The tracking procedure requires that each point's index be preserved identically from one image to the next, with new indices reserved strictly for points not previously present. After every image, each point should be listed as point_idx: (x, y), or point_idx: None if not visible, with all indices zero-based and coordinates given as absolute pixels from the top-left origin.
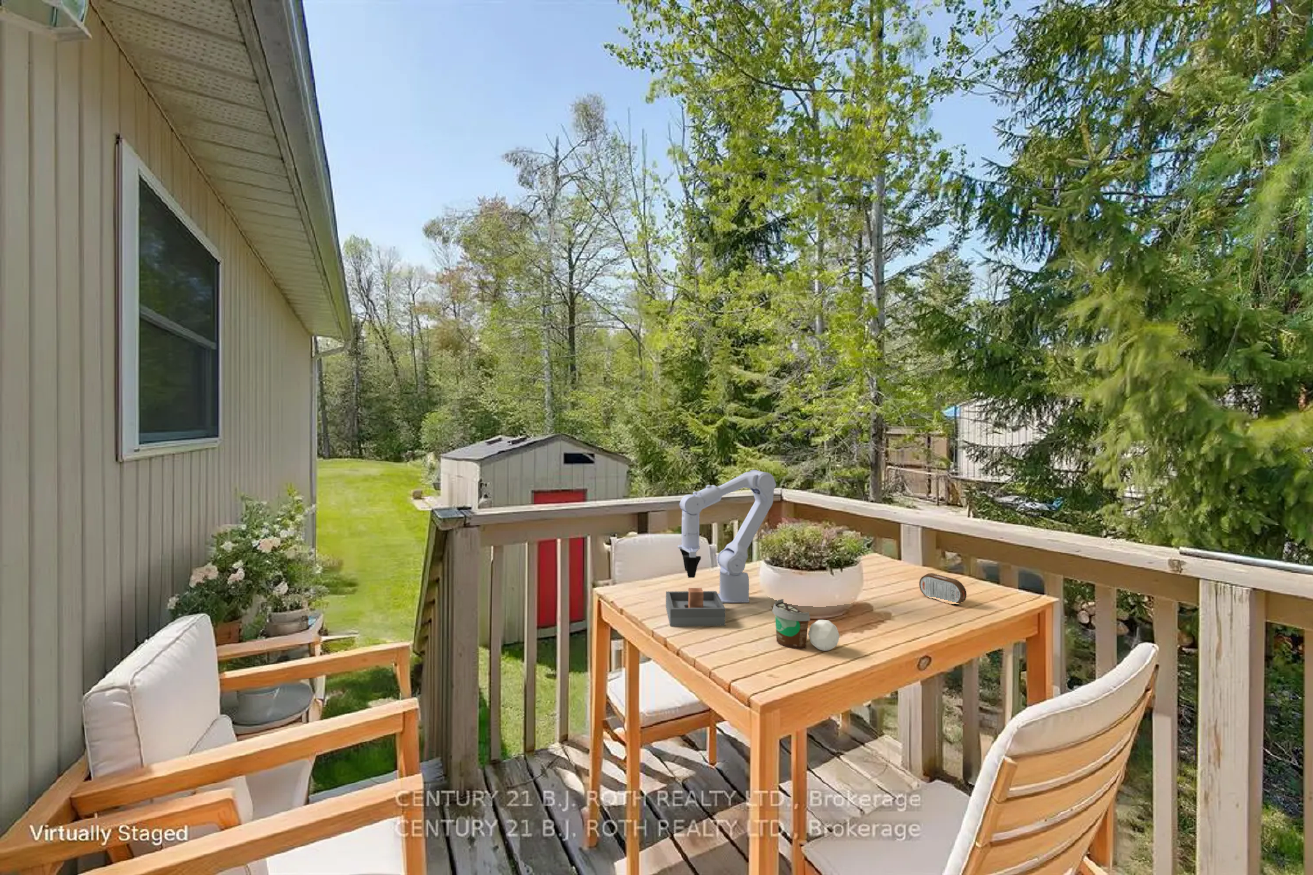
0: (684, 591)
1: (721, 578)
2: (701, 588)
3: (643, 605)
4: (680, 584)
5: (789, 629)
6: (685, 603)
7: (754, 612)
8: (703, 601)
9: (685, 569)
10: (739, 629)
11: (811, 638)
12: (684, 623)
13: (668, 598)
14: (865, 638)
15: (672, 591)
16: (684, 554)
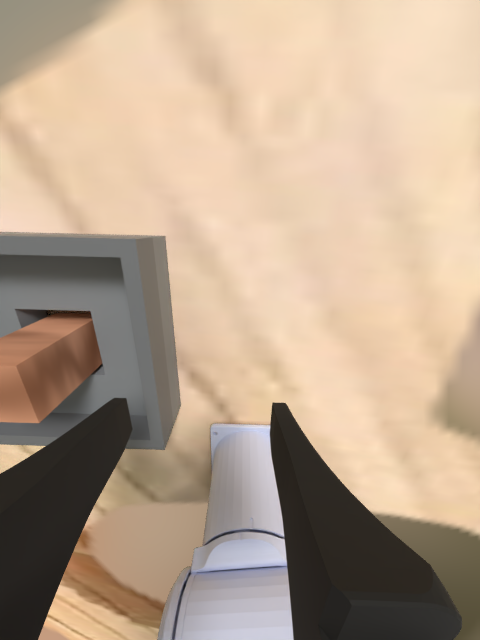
0: (147, 335)
1: (232, 505)
2: (31, 421)
3: (182, 119)
4: (444, 331)
5: None
6: (107, 318)
7: (140, 477)
8: (140, 384)
9: (273, 409)
10: None
11: None
12: None
13: (15, 240)
14: None
15: (141, 276)
16: (304, 542)
